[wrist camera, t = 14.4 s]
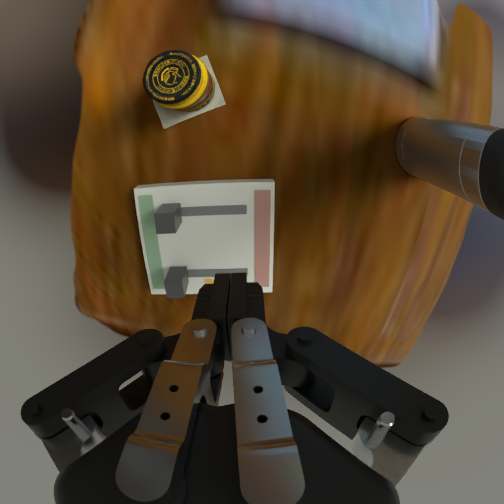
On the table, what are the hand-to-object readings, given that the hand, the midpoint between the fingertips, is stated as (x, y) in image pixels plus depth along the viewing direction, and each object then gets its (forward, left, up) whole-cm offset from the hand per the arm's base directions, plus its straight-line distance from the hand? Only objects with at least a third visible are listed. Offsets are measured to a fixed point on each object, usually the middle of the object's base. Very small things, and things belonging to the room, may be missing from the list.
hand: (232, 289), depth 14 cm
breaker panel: (+4, +8, -25) cm, 26 cm away
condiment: (+6, -12, -25) cm, 29 cm away
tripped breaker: (+8, +12, -23) cm, 27 cm away
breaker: (+8, +3, -23) cm, 24 cm away
